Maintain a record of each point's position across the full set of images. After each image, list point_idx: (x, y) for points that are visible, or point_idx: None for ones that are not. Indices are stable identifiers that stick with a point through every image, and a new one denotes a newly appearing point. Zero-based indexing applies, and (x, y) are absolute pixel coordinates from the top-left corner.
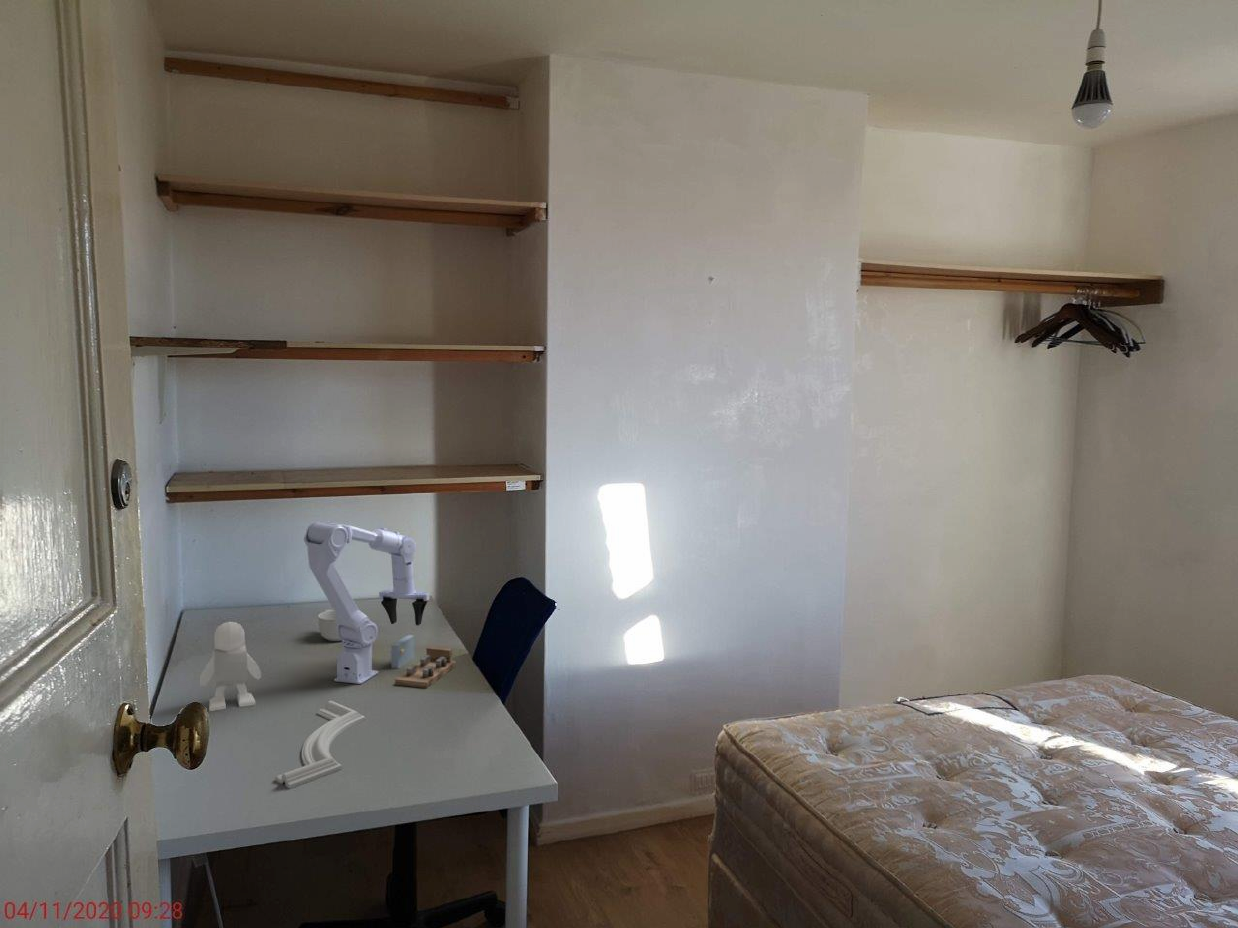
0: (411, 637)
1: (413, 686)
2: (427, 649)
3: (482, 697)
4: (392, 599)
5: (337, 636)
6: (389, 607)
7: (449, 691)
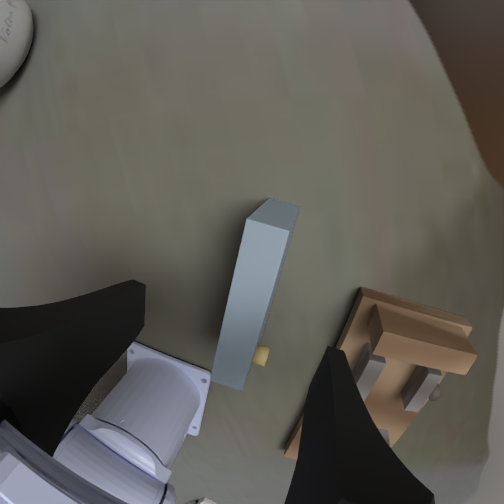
0: (278, 270)
1: None
2: (376, 351)
3: (469, 478)
4: (23, 423)
5: (4, 83)
6: (69, 422)
7: (417, 469)
